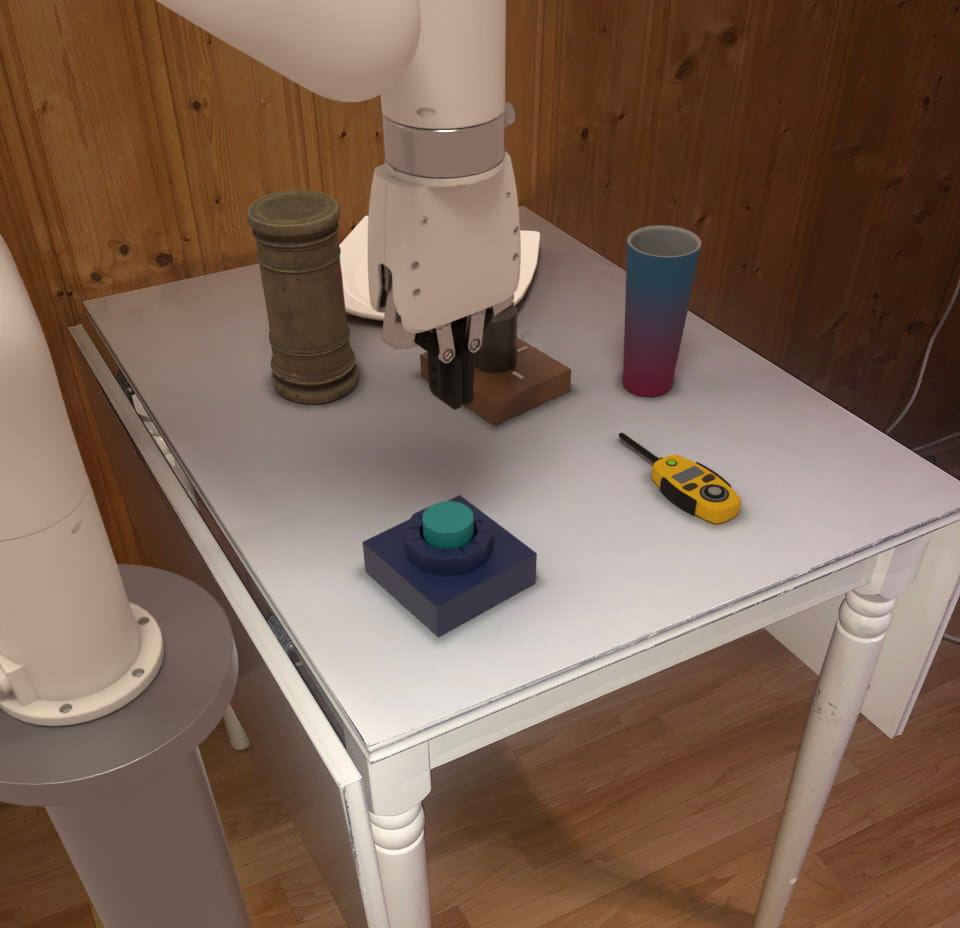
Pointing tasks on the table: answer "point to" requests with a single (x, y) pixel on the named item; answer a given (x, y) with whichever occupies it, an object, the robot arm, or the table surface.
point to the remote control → (692, 486)
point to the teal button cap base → (449, 570)
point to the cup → (656, 305)
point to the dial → (499, 342)
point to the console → (515, 384)
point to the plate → (357, 269)
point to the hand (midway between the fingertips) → (452, 398)
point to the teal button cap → (448, 525)
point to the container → (304, 295)
